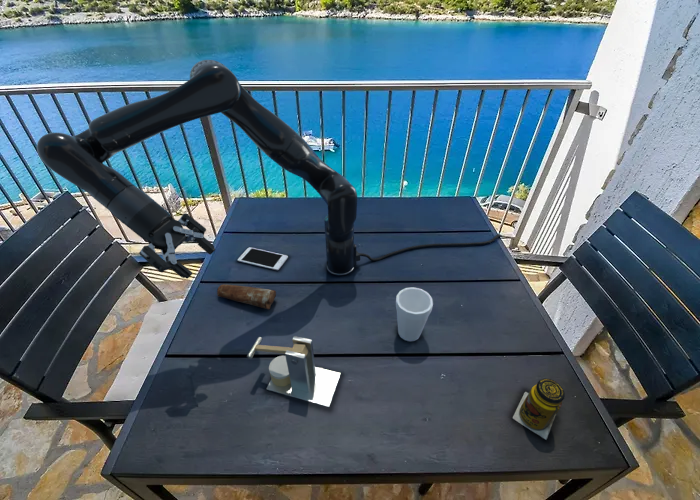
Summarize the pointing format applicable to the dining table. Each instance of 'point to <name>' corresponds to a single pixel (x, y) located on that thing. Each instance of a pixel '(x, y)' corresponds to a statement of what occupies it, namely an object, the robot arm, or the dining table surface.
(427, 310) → the foam cup
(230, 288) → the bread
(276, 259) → the cell phone
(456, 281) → the dining table surface
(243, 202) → the dining table surface
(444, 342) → the dining table surface
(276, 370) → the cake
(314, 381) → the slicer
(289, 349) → the wood and metal t-shape
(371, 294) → the dining table surface
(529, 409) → the condiment
